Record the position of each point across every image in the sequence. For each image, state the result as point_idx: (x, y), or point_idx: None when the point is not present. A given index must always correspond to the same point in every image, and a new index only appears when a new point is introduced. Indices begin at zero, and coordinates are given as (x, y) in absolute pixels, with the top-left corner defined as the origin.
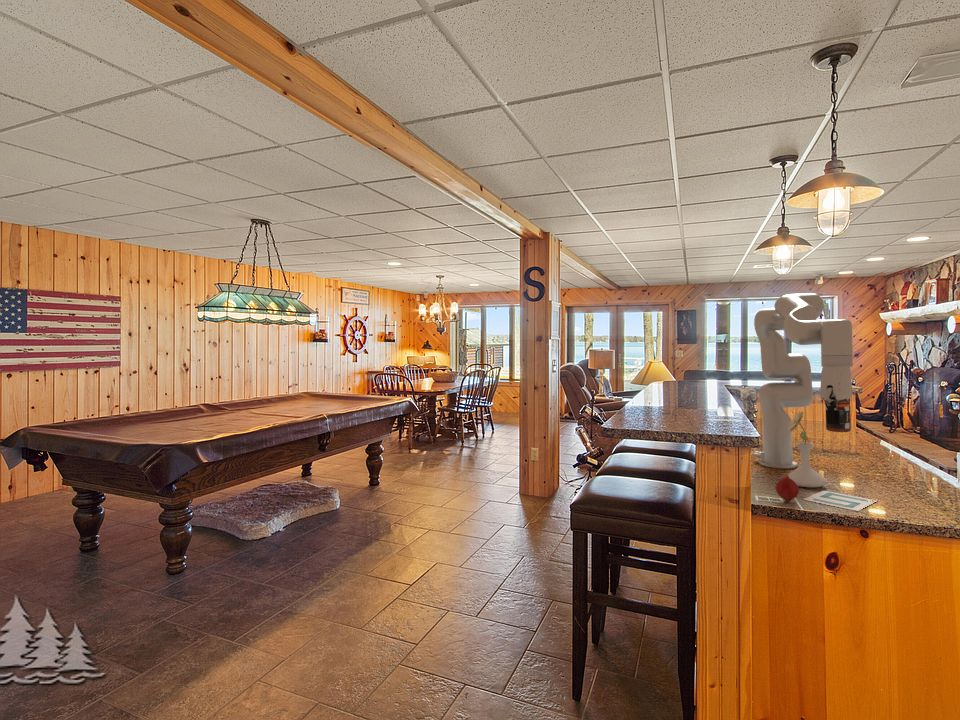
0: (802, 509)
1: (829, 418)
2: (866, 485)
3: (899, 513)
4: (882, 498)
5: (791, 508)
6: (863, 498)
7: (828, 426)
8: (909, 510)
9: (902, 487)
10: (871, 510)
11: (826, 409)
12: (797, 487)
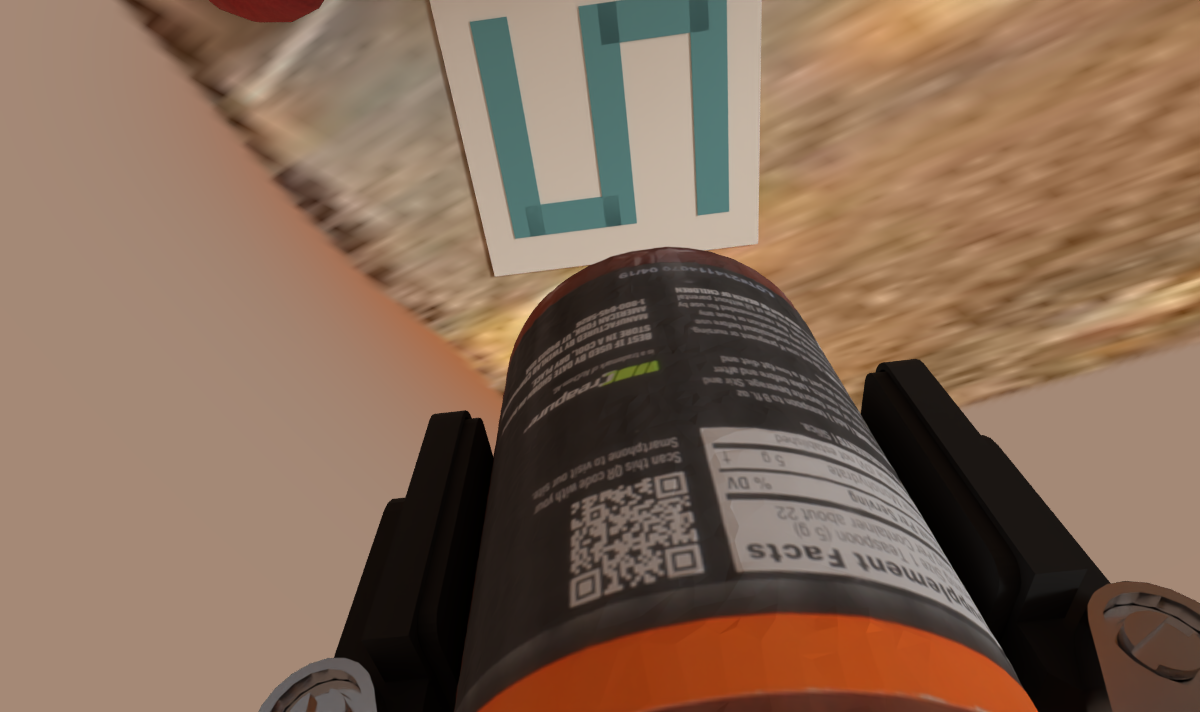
0: (254, 97)
1: (387, 540)
2: (1128, 25)
3: None
4: (840, 227)
5: (203, 45)
6: (749, 183)
7: (512, 365)
8: None
9: (1184, 180)
10: None
11: (282, 699)
12: (280, 17)
